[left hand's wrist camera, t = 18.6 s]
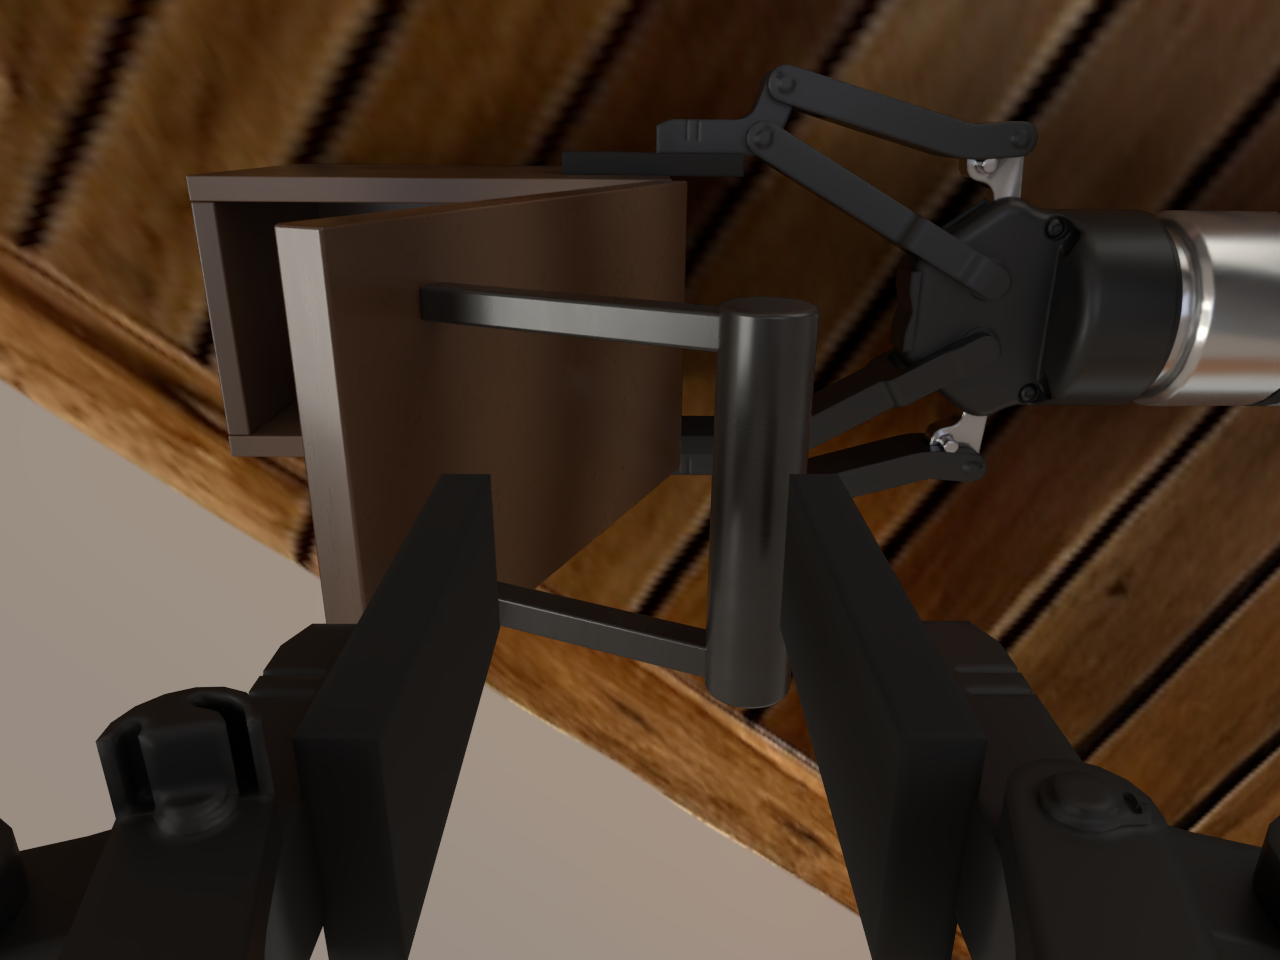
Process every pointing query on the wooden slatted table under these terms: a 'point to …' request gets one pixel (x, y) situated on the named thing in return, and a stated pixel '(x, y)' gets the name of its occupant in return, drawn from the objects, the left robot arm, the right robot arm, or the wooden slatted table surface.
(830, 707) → the left robot arm
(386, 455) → the lid
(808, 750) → the wooden slatted table surface
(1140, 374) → the right robot arm
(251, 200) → the chest
